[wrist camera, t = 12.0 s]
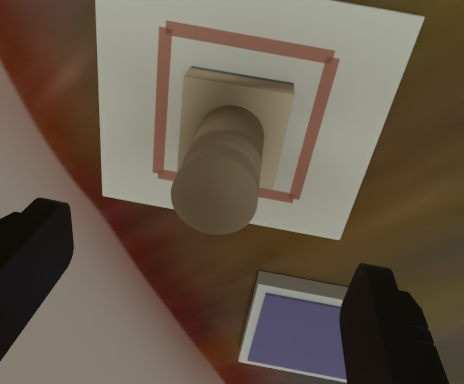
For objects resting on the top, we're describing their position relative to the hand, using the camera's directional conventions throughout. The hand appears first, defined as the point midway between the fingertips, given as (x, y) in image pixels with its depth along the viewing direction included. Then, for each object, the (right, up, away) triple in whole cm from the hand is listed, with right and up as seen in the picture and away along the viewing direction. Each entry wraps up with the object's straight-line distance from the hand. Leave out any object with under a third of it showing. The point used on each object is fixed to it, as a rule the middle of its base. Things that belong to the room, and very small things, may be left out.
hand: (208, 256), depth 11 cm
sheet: (+1, +6, +9) cm, 11 cm away
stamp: (+1, +5, +9) cm, 10 cm away
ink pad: (+7, -8, +16) cm, 19 cm away
